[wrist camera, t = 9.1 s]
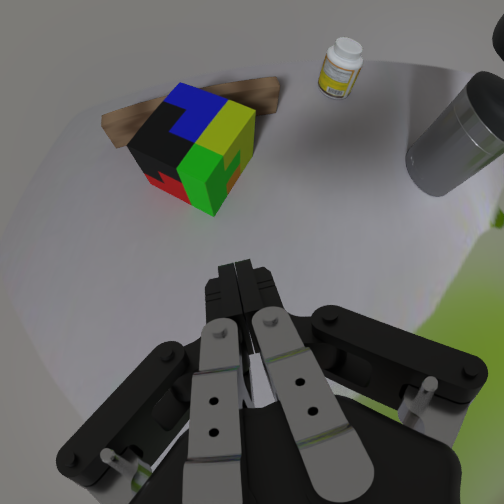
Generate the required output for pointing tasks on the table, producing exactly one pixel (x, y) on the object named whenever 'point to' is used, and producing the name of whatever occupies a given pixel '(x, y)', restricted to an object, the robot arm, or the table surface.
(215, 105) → the puzzle toy
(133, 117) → the board
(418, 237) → the table surface
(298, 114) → the table surface
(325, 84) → the supplement bottle
